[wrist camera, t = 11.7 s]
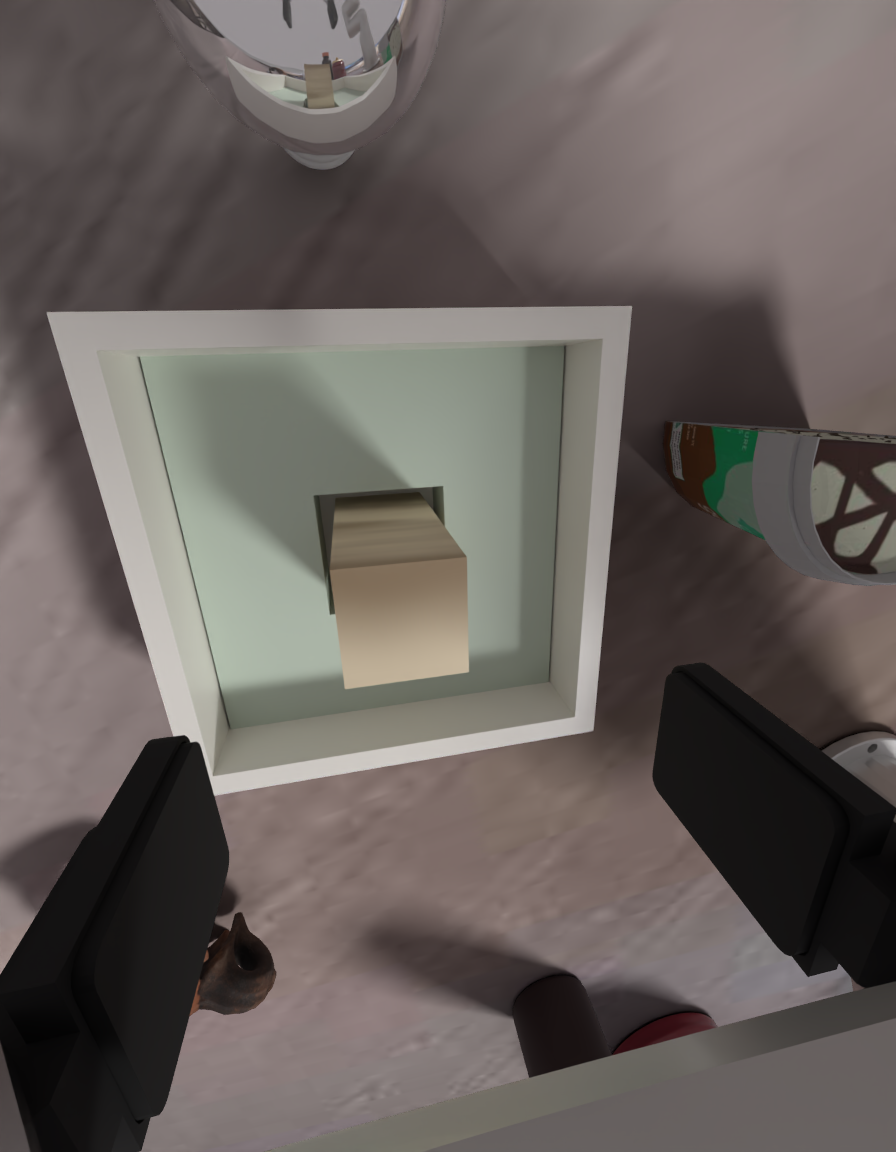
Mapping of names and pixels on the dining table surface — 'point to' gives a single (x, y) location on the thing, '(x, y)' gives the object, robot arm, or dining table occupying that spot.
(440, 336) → the open box
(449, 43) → the dining table surface
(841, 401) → the dining table surface
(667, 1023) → the canister
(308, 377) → the bore plate
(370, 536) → the maple peg
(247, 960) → the brown looped sculpture
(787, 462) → the food container
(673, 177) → the dining table surface
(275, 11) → the light bulb
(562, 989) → the bottle
